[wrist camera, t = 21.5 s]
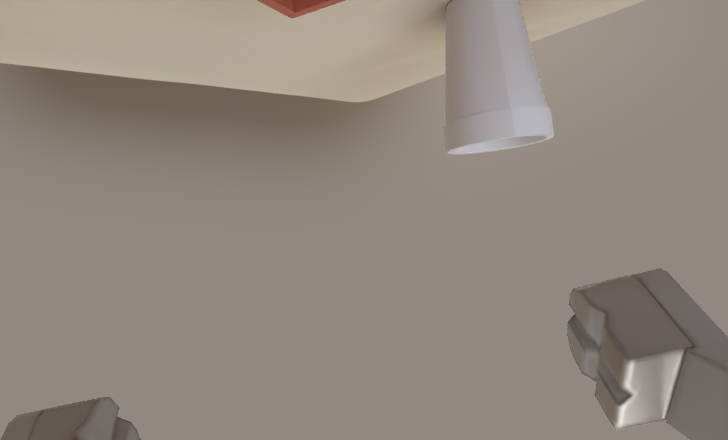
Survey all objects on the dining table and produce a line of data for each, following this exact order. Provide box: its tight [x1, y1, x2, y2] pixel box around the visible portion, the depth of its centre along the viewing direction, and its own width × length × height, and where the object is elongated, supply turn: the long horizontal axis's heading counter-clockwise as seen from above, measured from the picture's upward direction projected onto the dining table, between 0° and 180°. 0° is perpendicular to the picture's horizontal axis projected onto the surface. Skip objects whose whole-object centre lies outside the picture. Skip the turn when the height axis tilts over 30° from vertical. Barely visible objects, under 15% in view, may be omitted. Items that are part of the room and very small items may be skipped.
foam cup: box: [444, 0, 554, 154], centre depth 48 cm, size 10×9×13 cm
